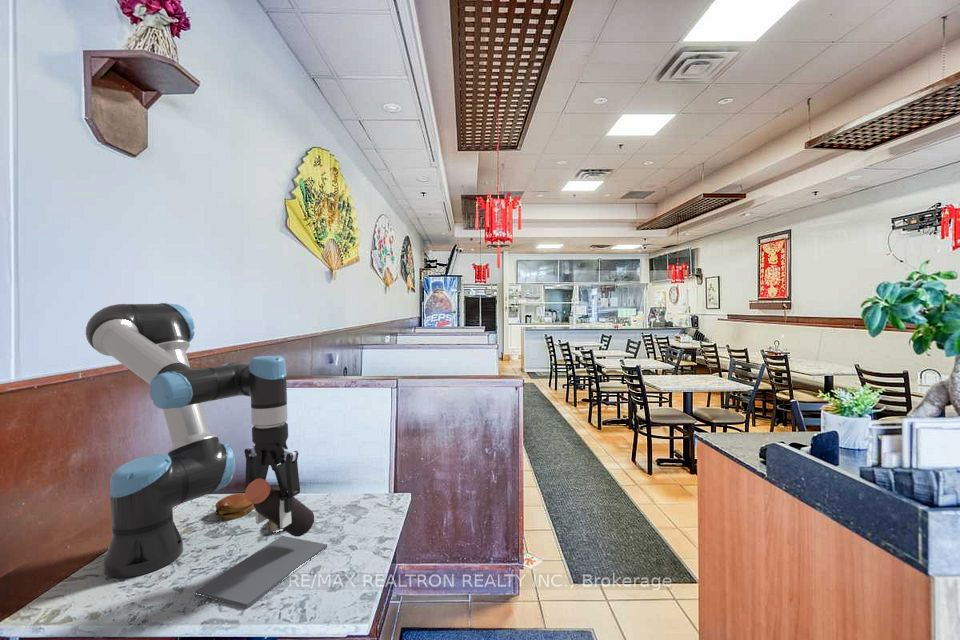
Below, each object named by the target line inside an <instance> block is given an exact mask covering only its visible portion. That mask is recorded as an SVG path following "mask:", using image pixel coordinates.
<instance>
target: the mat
mask: <svg viewBox="0 0 960 640" xmlns="http://www.w3.org/2000/svg"><path fill="white" fill-rule="evenodd" d="M326 547H327V548H328V544H327V543H323V542H317V541H311V540H306V539H301V538H296V537H290V536H285V535H281V536H279V537H278V538H276V539H274V540H273V541H272V542H270V543H268V544H266V545H265V546H264V547H262V548H261V549H259V550H257V551H256V552H254V553H253V554H252V553H251V555H249V556H248V557H246V558H245V559H243V560H241V561H240V562H238V563H237V564H235V565H233V566H232V567H231V568H229V569H227V570H226V571H224V572H223V573H221V574H219V575H218V576H217V577H215V578H213V579H212V580H210V581H209V582H207V583H206V584H203V585H202V586H201V587H199V588H198V589H196V590H195V594H196V593H197V594H201V595H204V596H207V597H211V598H213V599H212V600H214V599H217V600H216V601H218V600H220V601H219V602H222V601H223V603H225V602H227V603H226V604H230V605H233V606H237V607H241V608H243V609H245V608H246V609H249V608H250V607H251V606H253V605H254V604H255V603H257V602H258V601H259V600H260V599H262V598H264V597H265V596H266V595H267V594H268V593H270V592H271V591H273V588H274V589H275V588H277V587H278V586H279V585H280V584H281V583H282V582H281V581H282V580H283V579H284V578H285V577H287V576H288V575H289V574H290V573H291V572H292V571H294V570H295V569H296V568H298V567H299V566H300V565H302V564H303V563H305V562H306V561H308V560H309V559H311V558H312V557H314V556H315V555H317V554H318V553H319V552H321V551H322V550H323V549H325V548H326ZM327 548H326V549H327ZM326 549H325V550H326ZM323 551H324V550H323ZM323 551H322V552H323ZM322 552H321V553H322ZM318 555H319V554H318ZM318 555H317V556H318ZM314 558H315V557H314ZM280 582H281V583H280ZM279 583H280V584H279ZM278 584H279V585H278ZM277 585H278V586H277ZM269 591H270V592H269ZM265 594H266V595H265ZM207 597H206V598H207Z"/></svg>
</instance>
